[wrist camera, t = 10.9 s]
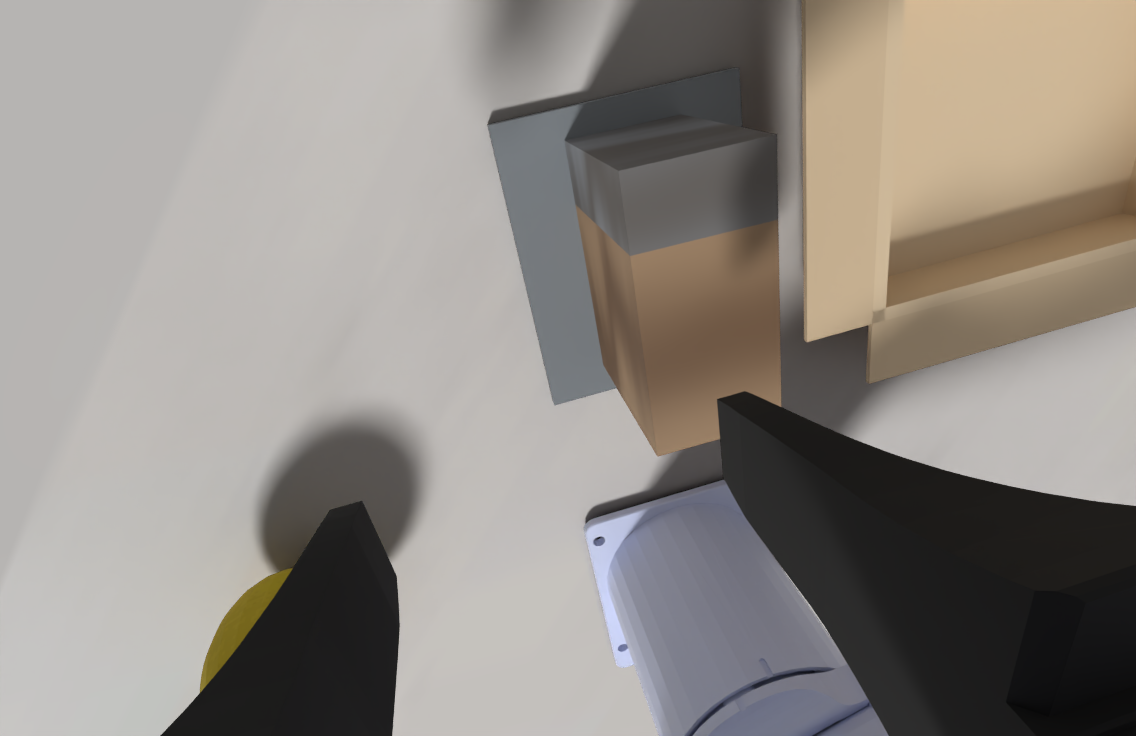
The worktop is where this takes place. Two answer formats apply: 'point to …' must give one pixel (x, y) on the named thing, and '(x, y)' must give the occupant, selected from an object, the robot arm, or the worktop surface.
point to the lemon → (240, 623)
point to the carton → (966, 172)
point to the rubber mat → (550, 216)
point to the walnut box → (682, 268)
